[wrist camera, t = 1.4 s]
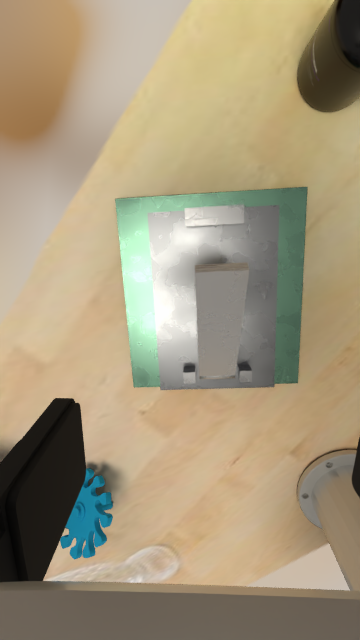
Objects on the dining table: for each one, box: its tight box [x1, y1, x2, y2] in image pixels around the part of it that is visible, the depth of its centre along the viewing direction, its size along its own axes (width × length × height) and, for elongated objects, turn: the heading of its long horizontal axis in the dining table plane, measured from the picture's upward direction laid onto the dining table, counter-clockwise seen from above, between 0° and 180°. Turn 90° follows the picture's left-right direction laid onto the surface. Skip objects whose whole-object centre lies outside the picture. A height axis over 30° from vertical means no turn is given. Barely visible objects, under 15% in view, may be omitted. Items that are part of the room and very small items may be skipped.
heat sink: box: [115, 187, 307, 390], centre depth 32 cm, size 20×22×8 cm
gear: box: [60, 468, 113, 559], centre depth 41 cm, size 11×6×10 cm
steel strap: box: [195, 262, 249, 379], centre depth 26 cm, size 4×14×1 cm
